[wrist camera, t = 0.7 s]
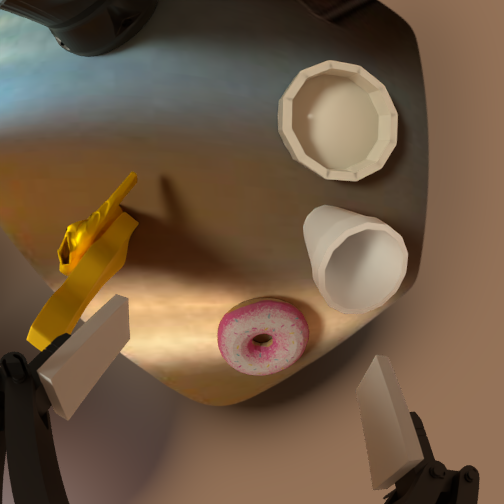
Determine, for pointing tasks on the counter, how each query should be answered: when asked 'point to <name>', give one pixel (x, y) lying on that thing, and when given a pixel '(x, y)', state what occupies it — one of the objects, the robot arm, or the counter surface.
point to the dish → (338, 121)
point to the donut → (260, 322)
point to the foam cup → (354, 258)
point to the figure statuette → (86, 265)
